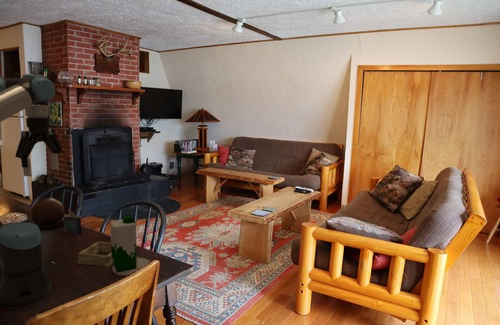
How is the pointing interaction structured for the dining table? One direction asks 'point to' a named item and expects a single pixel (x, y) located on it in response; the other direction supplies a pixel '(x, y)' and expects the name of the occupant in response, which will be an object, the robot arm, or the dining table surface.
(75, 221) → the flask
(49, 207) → the wooden sphere
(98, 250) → the shallow beige tray
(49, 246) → the dining table surface
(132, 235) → the soya milk
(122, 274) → the pad
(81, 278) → the dining table surface
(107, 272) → the dining table surface
